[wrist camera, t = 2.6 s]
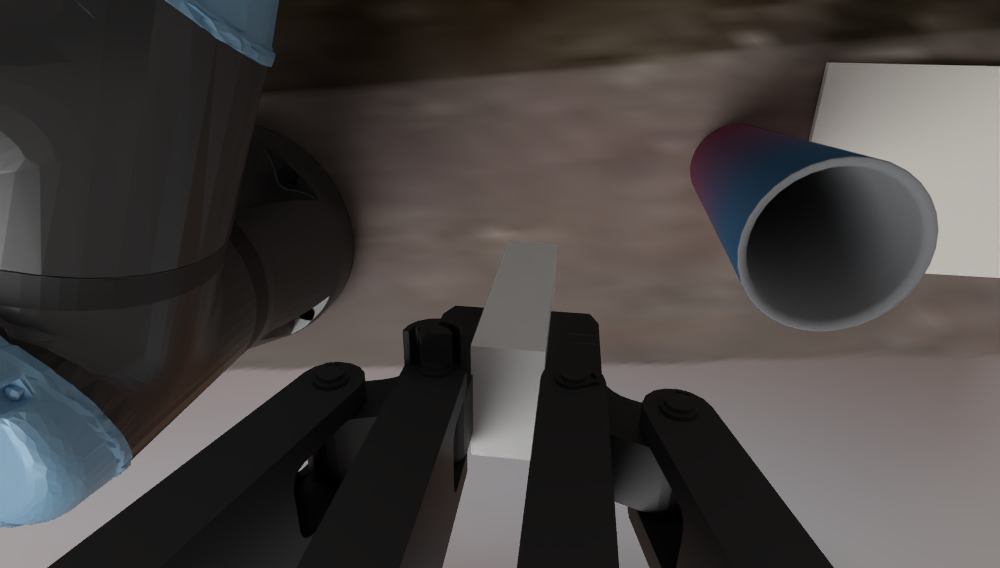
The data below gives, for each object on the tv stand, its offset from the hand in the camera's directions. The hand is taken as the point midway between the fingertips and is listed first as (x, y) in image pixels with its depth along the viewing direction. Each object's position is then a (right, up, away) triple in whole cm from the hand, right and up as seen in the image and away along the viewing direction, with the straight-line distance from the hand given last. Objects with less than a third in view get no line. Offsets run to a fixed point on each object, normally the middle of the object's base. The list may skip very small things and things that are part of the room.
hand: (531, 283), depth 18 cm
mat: (+25, +6, +16) cm, 30 cm away
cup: (+13, +7, +17) cm, 23 cm away
